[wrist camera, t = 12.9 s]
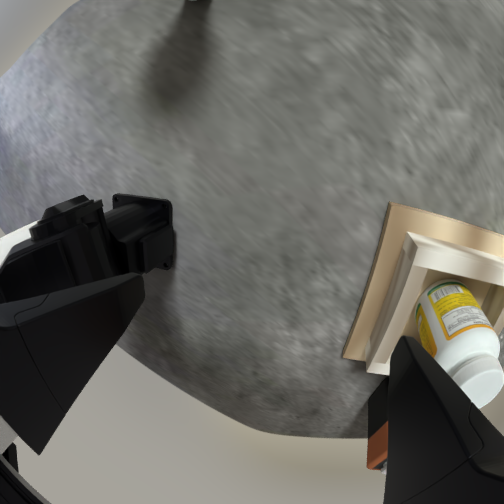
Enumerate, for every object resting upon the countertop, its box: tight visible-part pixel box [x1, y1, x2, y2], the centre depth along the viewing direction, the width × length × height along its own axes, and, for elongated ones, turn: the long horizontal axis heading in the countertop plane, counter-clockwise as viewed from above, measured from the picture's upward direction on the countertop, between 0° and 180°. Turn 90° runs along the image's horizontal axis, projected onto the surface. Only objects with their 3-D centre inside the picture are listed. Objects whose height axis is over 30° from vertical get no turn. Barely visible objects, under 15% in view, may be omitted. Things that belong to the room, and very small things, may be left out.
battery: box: [367, 378, 389, 475], centre depth 20 cm, size 4×7×10 cm, turn 79°
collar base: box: [343, 202, 504, 375], centre depth 18 cm, size 14×14×4 cm
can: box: [0, 220, 39, 265], centre depth 24 cm, size 6×6×12 cm
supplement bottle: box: [415, 279, 504, 409], centre depth 14 cm, size 5×5×10 cm
